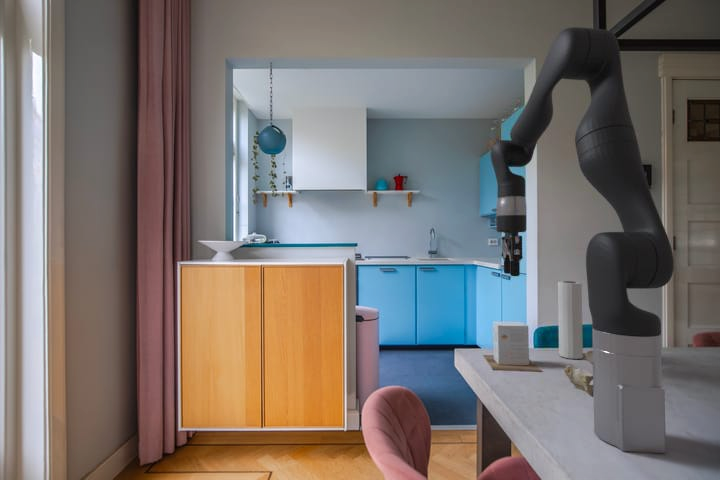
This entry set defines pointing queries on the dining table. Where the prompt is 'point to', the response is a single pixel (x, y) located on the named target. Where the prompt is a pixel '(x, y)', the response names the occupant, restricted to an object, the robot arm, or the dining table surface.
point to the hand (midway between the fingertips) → (511, 274)
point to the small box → (511, 343)
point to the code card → (496, 366)
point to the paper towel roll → (570, 319)
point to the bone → (581, 375)
